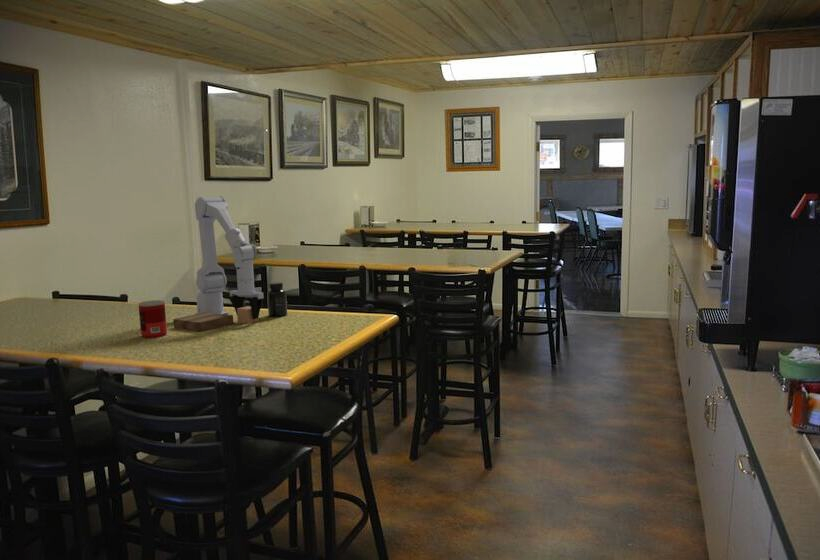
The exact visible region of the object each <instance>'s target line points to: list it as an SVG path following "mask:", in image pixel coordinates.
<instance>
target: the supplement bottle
mask: <svg viewBox="0 0 820 560" xmlns="http://www.w3.org/2000/svg"><path fill="white" fill-rule="evenodd" d="M268 284H269V287H268V288H269V290H268V291H267V292H266V293H267V296H266V297H267V308H268V309H267V310H268V312H267V313H268V316H269V317H273V318H279V317H285V316H287V315H288V304H287V292H286V290H285V289H284V285H283V282H281V281H279V282H270V283H268Z"/></svg>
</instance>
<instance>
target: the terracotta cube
mask: <svg viewBox="0 0 820 560" xmlns="http://www.w3.org/2000/svg"><path fill="white" fill-rule="evenodd" d="M237 316H238V317H237ZM236 317H237V323H242V324H251V323H255V322H259V317H258V318H256V319H253V317H252V309H251V306H249V305H247V306H243V307H242V308H237V314H236Z"/></svg>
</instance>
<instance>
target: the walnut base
mask: <svg viewBox="0 0 820 560" xmlns="http://www.w3.org/2000/svg"><path fill="white" fill-rule="evenodd" d="M172 321H173V322H172V323H173V328H174V329H180V330H186V331H187V330H189V331H194V332H205V331H209V330H214V329H217V328H222V327H225V326H230V325H233V324H234V315H233V314H228V313H227V314H218V313H209V312H203V313H199V314H196V313H195V314H190V315H187V316H186V315H185V316H180V317H178V318H172Z"/></svg>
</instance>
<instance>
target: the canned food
mask: <svg viewBox="0 0 820 560" xmlns="http://www.w3.org/2000/svg"><path fill="white" fill-rule="evenodd" d="M138 314H139V325H140V335H141V337H142V338H143V337H144V339H155V338H156V339H157V338H160V337H164V336H166V335H167V333H168V330H167V317H166V303H165V301H164V300H161V299H160V300H159V299H157V300H155V299H154V300H146V301H141V302H138Z"/></svg>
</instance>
